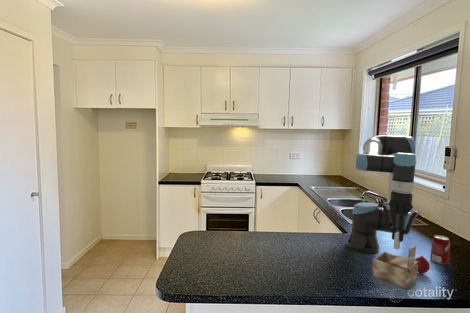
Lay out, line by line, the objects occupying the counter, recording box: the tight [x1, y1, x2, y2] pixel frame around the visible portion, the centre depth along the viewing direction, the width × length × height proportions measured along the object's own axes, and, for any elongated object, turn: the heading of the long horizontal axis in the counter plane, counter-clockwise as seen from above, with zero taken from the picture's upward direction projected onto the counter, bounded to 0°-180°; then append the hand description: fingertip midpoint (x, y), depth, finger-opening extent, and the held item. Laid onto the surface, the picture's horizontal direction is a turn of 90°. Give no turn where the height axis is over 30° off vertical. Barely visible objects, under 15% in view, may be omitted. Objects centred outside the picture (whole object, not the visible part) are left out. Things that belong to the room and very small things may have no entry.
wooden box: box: [371, 251, 420, 290], centre depth 114 cm, size 14×12×8 cm
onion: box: [415, 254, 431, 275], centre depth 118 cm, size 6×6×8 cm
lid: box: [390, 244, 418, 270], centre depth 111 cm, size 7×10×8 cm
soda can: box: [429, 234, 451, 265], centre depth 130 cm, size 7×7×12 cm
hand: (396, 248), depth 113 cm, fingers closed
